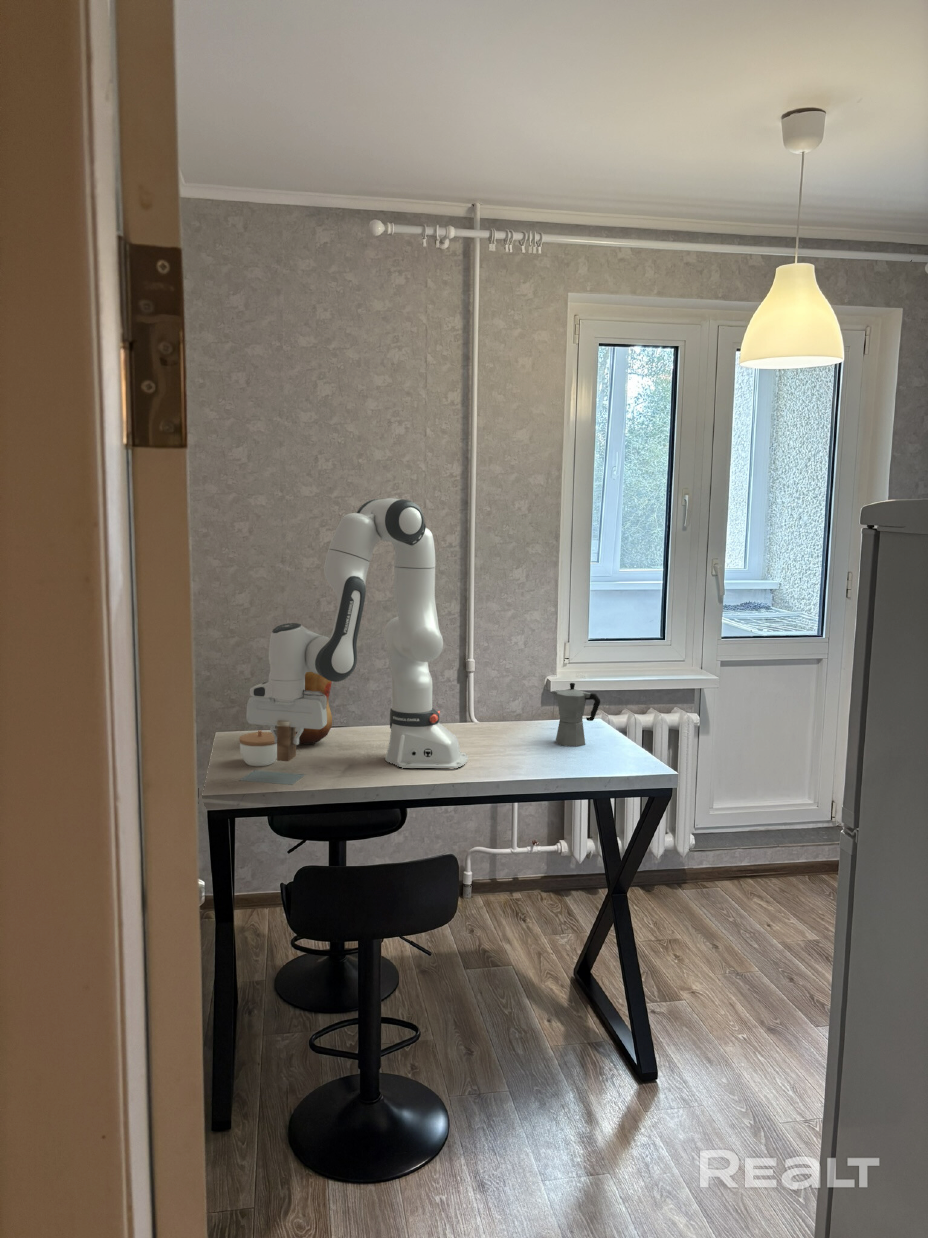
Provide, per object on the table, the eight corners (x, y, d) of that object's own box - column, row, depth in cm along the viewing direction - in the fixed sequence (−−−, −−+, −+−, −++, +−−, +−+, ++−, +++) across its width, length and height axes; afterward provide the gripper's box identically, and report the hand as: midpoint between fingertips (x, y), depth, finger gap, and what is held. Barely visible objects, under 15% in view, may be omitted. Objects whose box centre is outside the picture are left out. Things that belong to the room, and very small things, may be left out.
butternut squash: (325, 750, 263) (325, 663, 259) (279, 748, 264) (278, 661, 261) (337, 738, 276) (337, 654, 273) (293, 736, 278) (293, 653, 275)
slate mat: (305, 777, 237) (305, 774, 237) (292, 788, 229) (292, 784, 229) (254, 773, 240) (254, 770, 240) (239, 783, 231) (239, 780, 231)
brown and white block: (295, 756, 235) (296, 717, 234) (288, 761, 230) (288, 722, 229) (284, 755, 235) (284, 716, 234) (277, 760, 231) (277, 721, 229)
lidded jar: (281, 759, 253) (281, 725, 252) (280, 770, 243) (280, 735, 242) (240, 760, 252) (240, 726, 250) (238, 772, 241) (237, 736, 240)
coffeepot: (543, 743, 275) (545, 683, 272) (556, 736, 283) (558, 677, 281) (592, 750, 267) (594, 689, 265) (604, 743, 276) (606, 683, 273)
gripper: (331, 689, 232) (330, 743, 233) (254, 684, 235) (254, 737, 237) (322, 694, 225) (321, 750, 227) (243, 689, 229) (243, 743, 231)
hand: (286, 743), depth 232 cm, fingers closed on brown and white block, 3 cm apart
